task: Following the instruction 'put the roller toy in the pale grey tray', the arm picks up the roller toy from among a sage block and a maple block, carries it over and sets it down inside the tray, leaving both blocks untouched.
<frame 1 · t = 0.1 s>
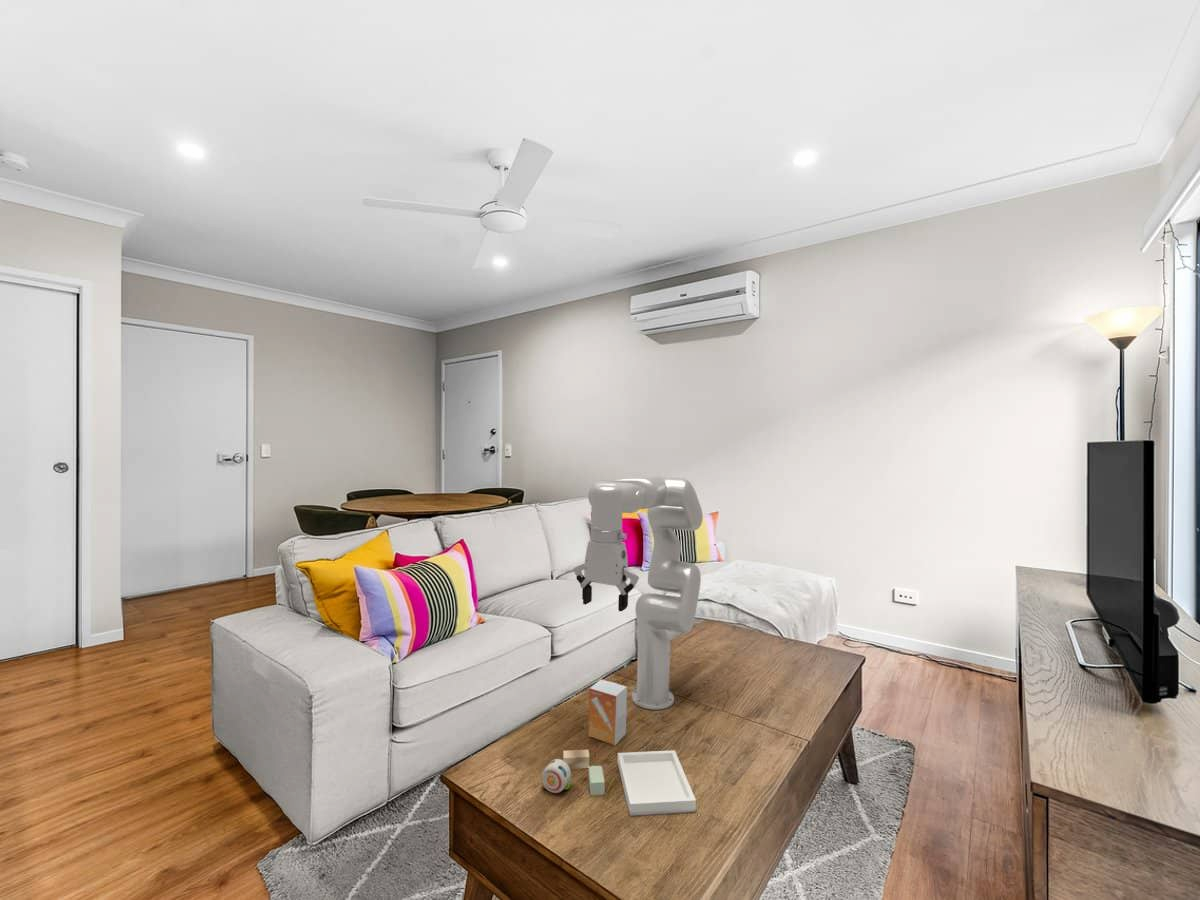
hand: (604, 606, 132), 37 cm above the table, tool pointing down, fingers open, 9 cm apart
tray: (654, 785, 122), on the table
sage block: (596, 787, 122), on the table
maple block: (576, 766, 129), on the table
roller toy: (556, 789, 121), on the table
small box: (607, 736, 142), on the table
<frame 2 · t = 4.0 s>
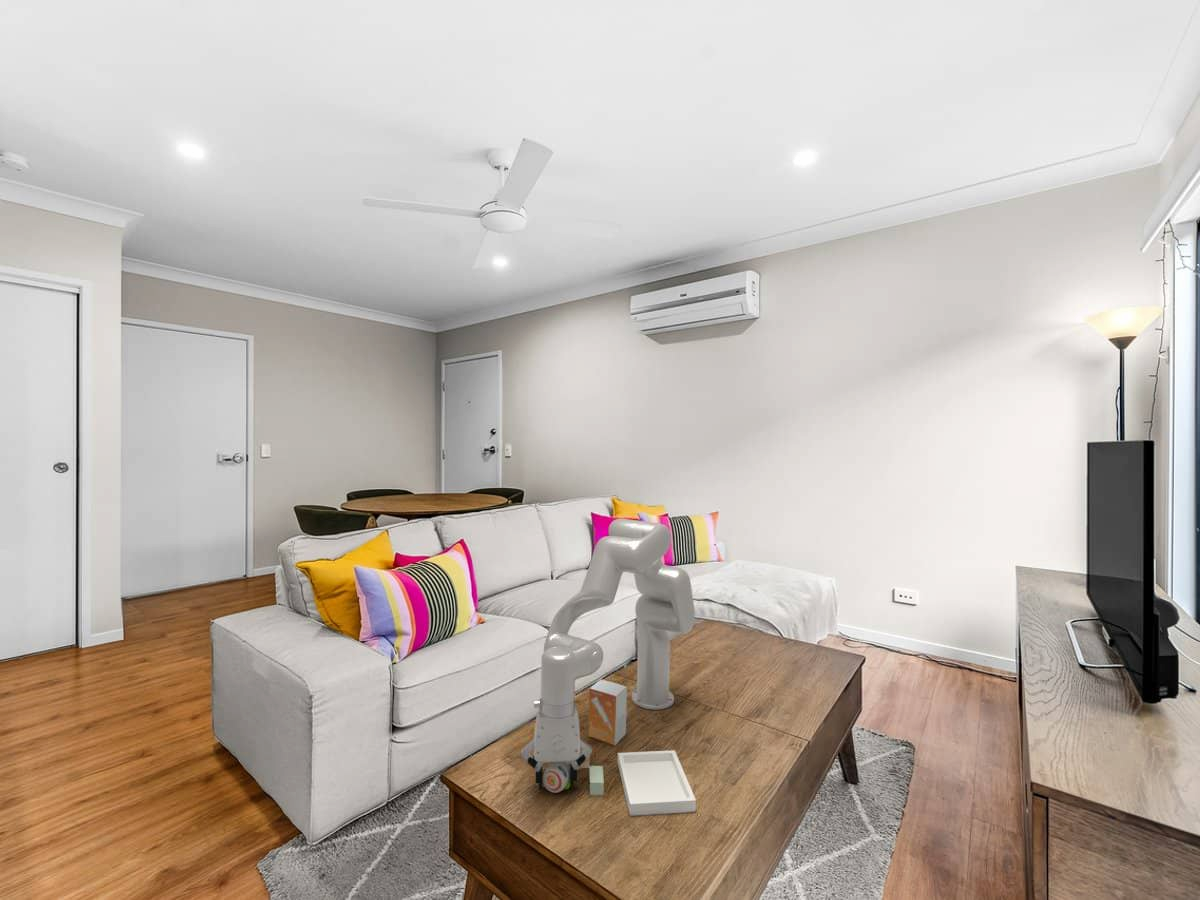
hand: (556, 784, 121), 1 cm above the table, tool pointing down, fingers closed on roller toy, 6 cm apart
roller toy: (556, 789, 121), on the table, touching gripper
everything else where it was.
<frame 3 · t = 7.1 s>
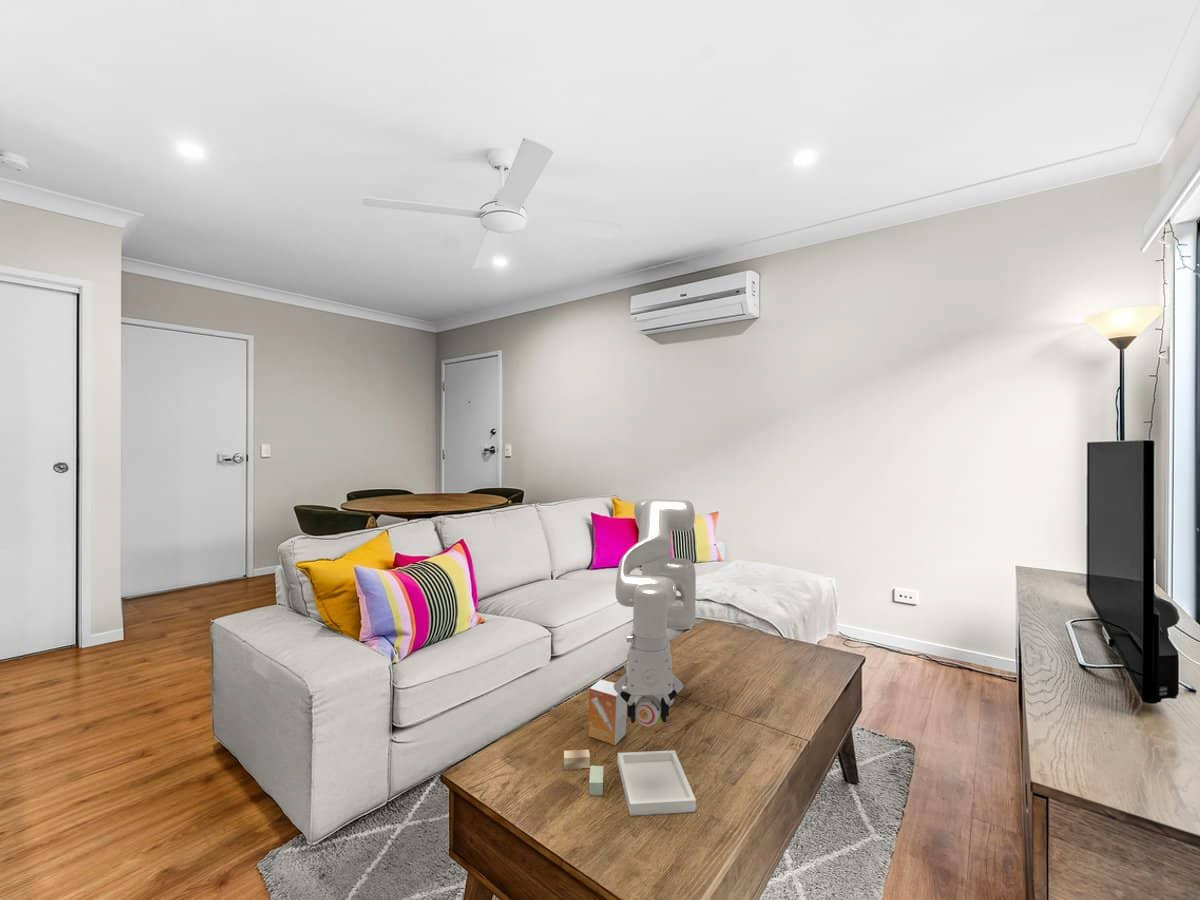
hand: (647, 718, 122), 15 cm above the table, tool pointing down, fingers closed on roller toy, 6 cm apart
roller toy: (647, 723, 122), point 14 cm above the table, touching gripper
everything else where it was.
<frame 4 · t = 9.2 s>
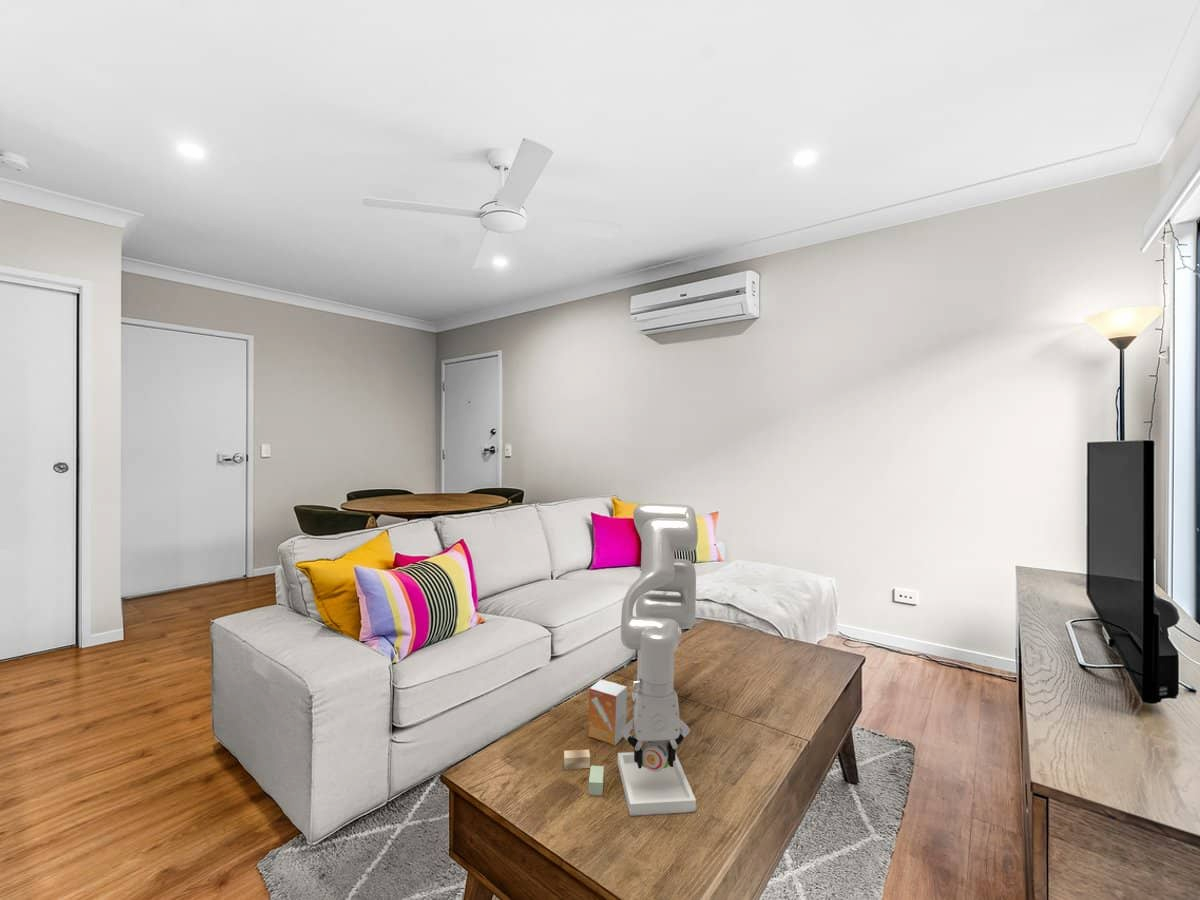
hand: (654, 763, 122), 5 cm above the table, tool pointing down, fingers closed on roller toy, 6 cm apart
roller toy: (654, 768, 122), point 4 cm above the table, touching gripper
everything else where it was.
when the fingers open (3 cm above the table, at t = 10.6 s): roller toy drops 1 cm, resting on tray.
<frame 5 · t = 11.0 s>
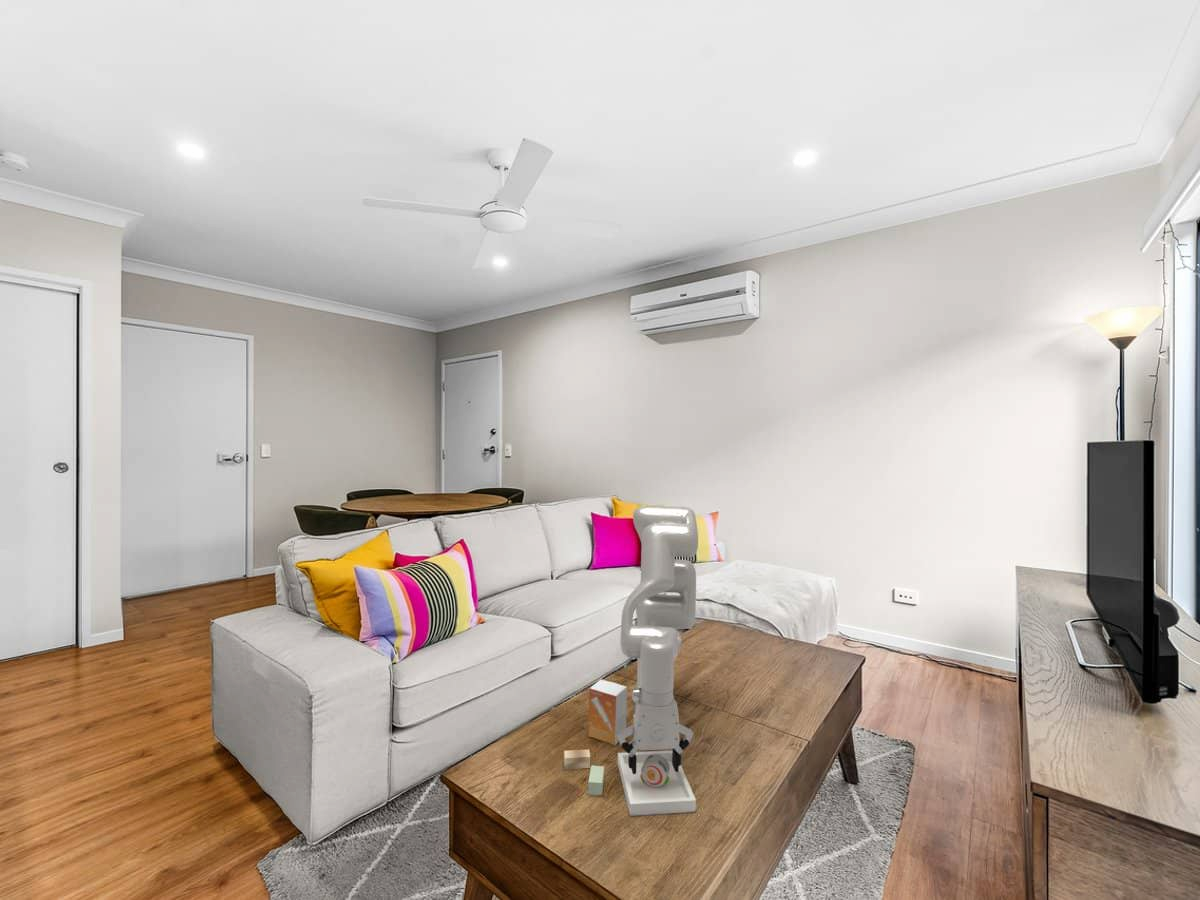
hand: (654, 769, 122), 4 cm above the table, tool pointing down, fingers open, 9 cm apart
roller toy: (654, 783, 122), resting on tray
everything else where it was.
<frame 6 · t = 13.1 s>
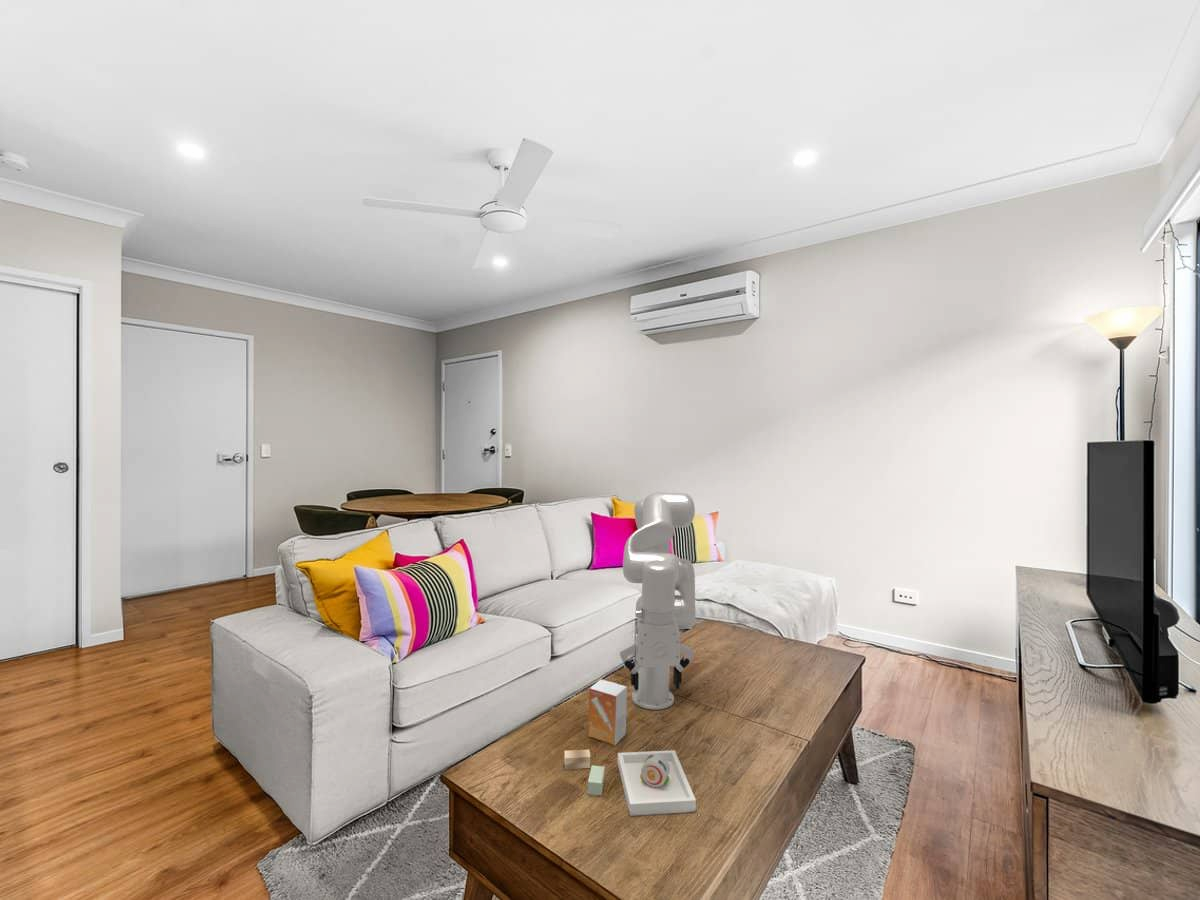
hand: (656, 686, 126), 20 cm above the table, tool pointing down, fingers open, 9 cm apart
nothing on the table moved.
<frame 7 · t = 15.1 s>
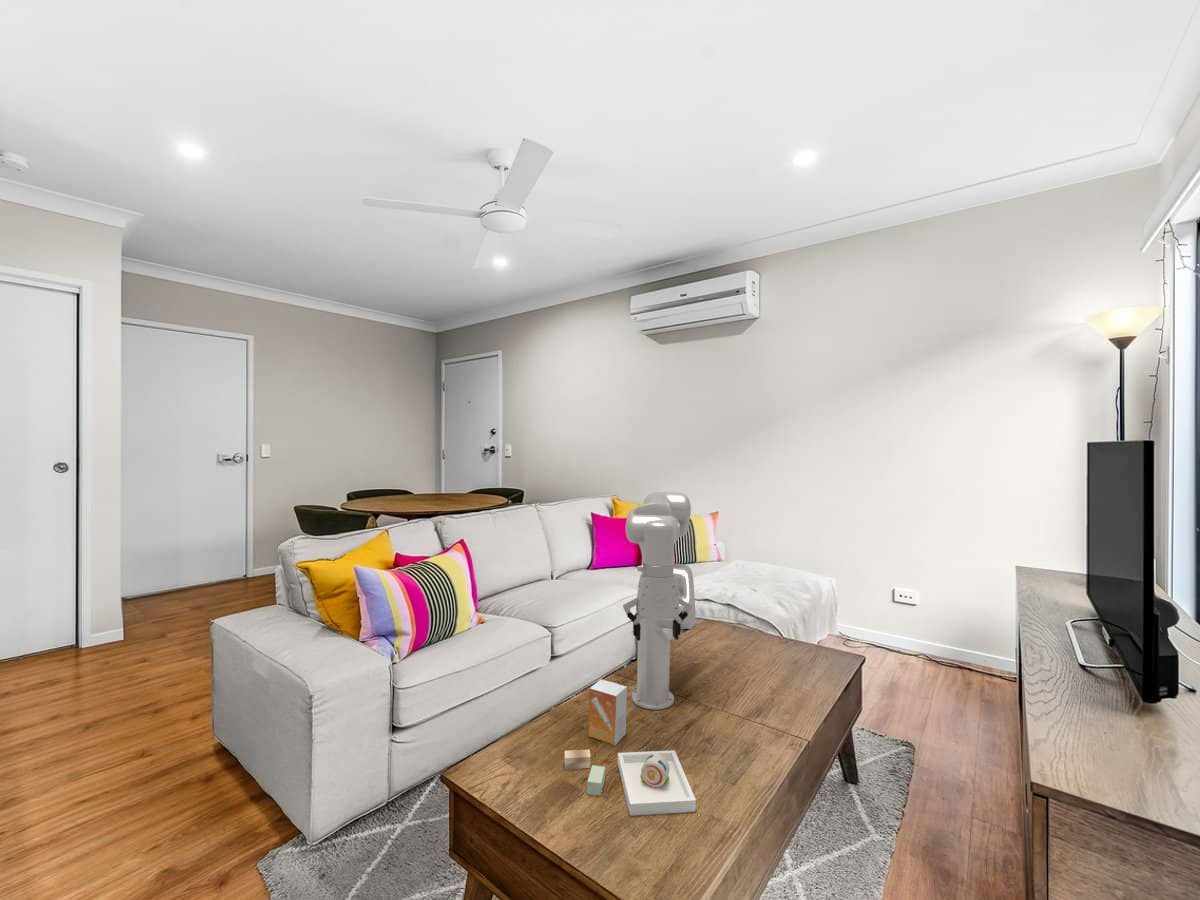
hand: (656, 638, 135), 28 cm above the table, tool pointing down, fingers open, 9 cm apart
nothing on the table moved.
at the end: roller toy inside the target area on the tray (0.2 cm from its centre), point 0.4 cm above the tray's base; sage block moved 0.2 cm from its start; maple block moved 0.4 cm from its start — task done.
